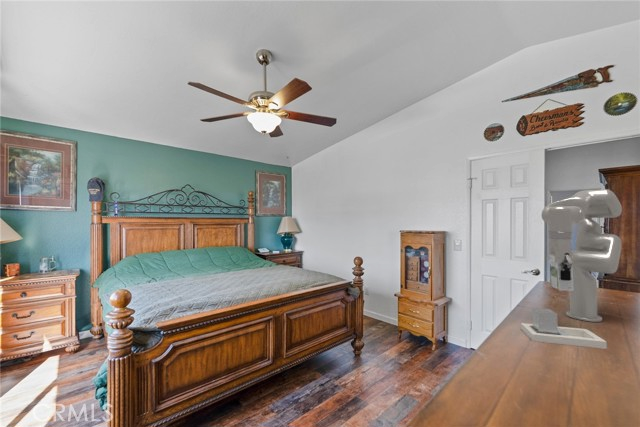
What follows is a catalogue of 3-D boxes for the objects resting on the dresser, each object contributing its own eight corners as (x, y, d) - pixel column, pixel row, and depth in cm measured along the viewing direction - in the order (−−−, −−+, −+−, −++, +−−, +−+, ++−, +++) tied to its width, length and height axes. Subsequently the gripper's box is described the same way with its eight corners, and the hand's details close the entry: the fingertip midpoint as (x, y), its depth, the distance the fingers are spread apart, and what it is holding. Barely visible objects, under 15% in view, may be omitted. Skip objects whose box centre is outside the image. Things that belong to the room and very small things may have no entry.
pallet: (521, 331, 118) (520, 323, 118) (586, 338, 111) (586, 329, 111) (532, 343, 106) (532, 334, 106) (606, 351, 100) (606, 341, 100)
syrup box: (574, 291, 116) (573, 255, 117) (558, 290, 118) (556, 255, 118) (565, 287, 122) (564, 253, 122) (549, 287, 123) (548, 253, 123)
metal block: (532, 332, 114) (532, 307, 114) (550, 334, 112) (549, 309, 112) (538, 338, 108) (538, 312, 108) (557, 340, 106) (557, 313, 107)
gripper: (540, 234, 129) (542, 273, 129) (559, 237, 113) (561, 282, 113) (560, 234, 127) (562, 274, 127) (582, 237, 111) (584, 283, 111)
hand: (561, 278), depth 120 cm, fingers closed on syrup box, 6 cm apart
